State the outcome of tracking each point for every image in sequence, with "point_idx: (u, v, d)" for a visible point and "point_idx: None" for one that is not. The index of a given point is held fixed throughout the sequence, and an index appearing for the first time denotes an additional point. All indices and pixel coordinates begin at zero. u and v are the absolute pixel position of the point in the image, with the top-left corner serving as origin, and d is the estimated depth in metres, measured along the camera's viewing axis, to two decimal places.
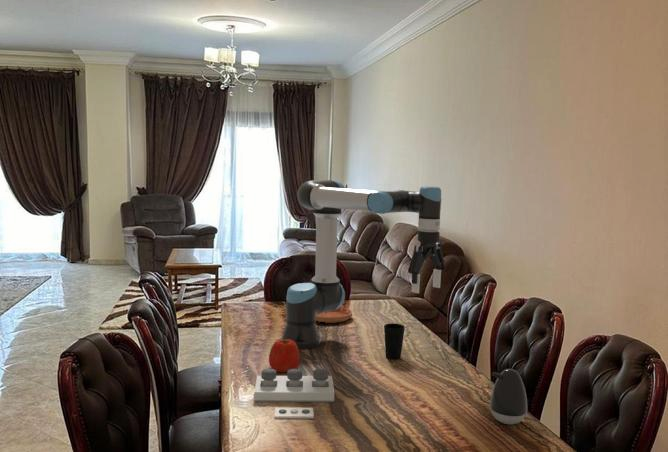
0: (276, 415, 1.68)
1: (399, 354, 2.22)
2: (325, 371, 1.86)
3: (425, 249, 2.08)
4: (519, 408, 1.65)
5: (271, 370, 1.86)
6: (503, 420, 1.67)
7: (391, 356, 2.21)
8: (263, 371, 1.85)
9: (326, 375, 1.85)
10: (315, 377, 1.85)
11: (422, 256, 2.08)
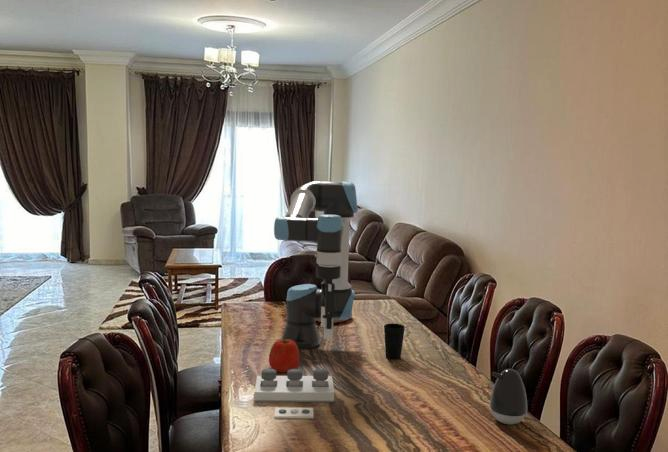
0: (276, 415, 1.68)
1: (399, 354, 2.22)
2: (325, 371, 1.86)
3: None
4: (519, 408, 1.65)
5: (271, 370, 1.86)
6: (503, 420, 1.67)
7: (391, 356, 2.21)
8: (263, 371, 1.85)
9: (326, 375, 1.85)
10: (315, 377, 1.85)
11: None
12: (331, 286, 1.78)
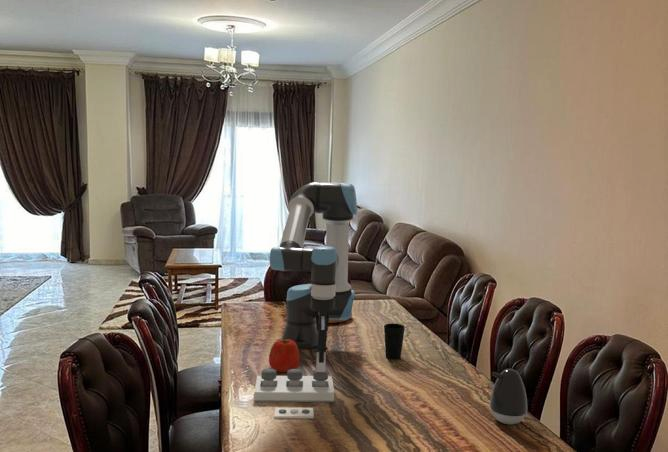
0: (276, 415, 1.68)
1: (399, 354, 2.22)
2: (325, 371, 1.87)
3: (318, 314, 1.88)
4: (519, 408, 1.65)
5: (271, 370, 1.86)
6: (503, 420, 1.67)
7: (391, 356, 2.21)
8: (263, 371, 1.85)
9: (326, 375, 1.85)
10: (315, 377, 1.85)
11: None
12: (324, 327, 1.78)
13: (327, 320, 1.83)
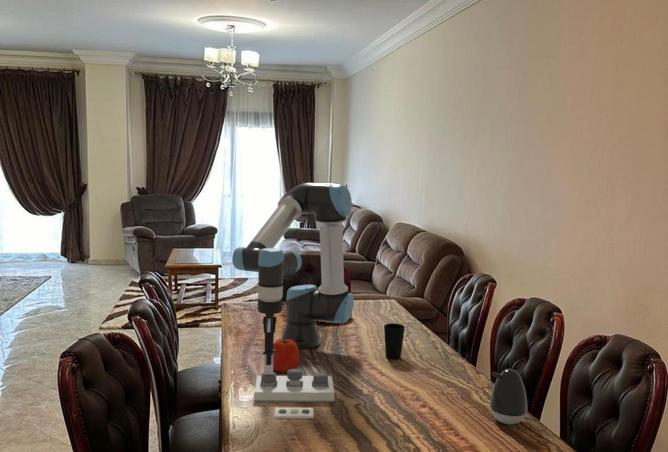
0: (276, 415, 1.68)
1: (399, 354, 2.22)
2: (325, 375, 1.87)
3: None
4: (519, 408, 1.65)
5: None
6: (503, 420, 1.67)
7: (391, 356, 2.21)
8: (263, 374, 1.85)
9: (326, 379, 1.85)
10: (315, 381, 1.85)
11: None
12: (270, 329, 1.78)
13: (274, 322, 1.82)
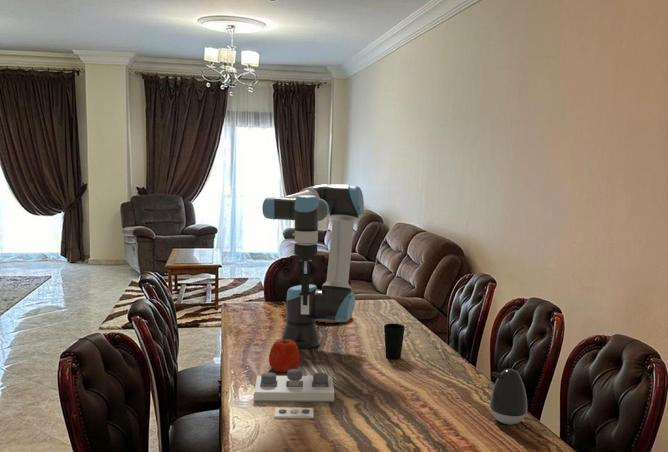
0: (276, 415, 1.68)
1: (399, 354, 2.22)
2: (325, 375, 1.87)
3: None
4: (519, 408, 1.65)
5: (271, 374, 1.86)
6: (503, 420, 1.67)
7: (391, 356, 2.21)
8: (263, 375, 1.85)
9: (326, 379, 1.85)
10: (315, 381, 1.85)
11: None
12: (307, 270, 1.89)
13: (310, 265, 1.93)
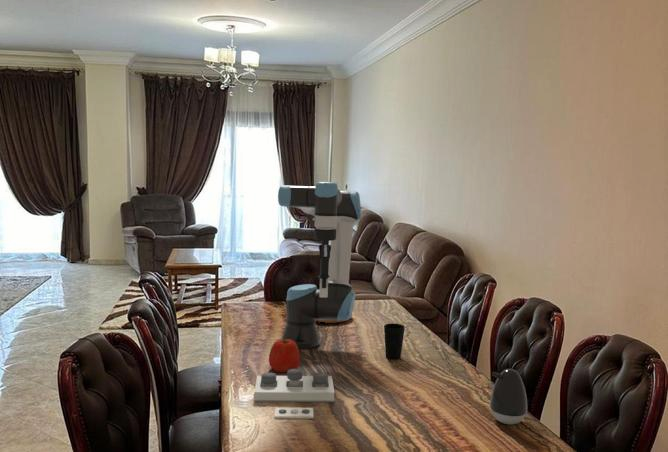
0: (276, 415, 1.68)
1: (399, 354, 2.22)
2: (325, 375, 1.87)
3: None
4: (519, 408, 1.65)
5: (271, 374, 1.86)
6: (503, 420, 1.67)
7: (391, 356, 2.21)
8: (263, 375, 1.85)
9: (326, 379, 1.85)
10: (315, 381, 1.85)
11: None
12: (327, 253, 1.96)
13: (329, 249, 2.00)
